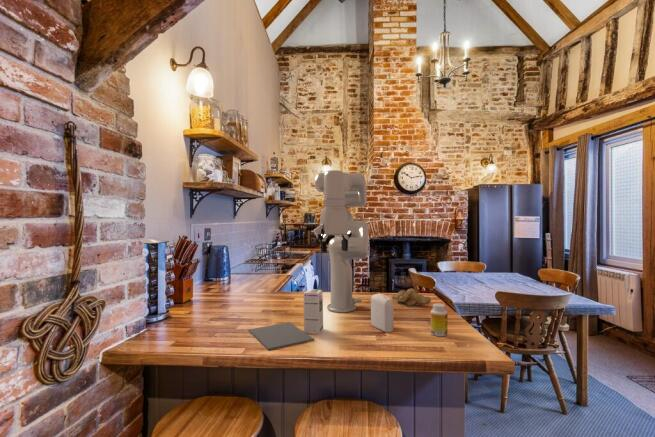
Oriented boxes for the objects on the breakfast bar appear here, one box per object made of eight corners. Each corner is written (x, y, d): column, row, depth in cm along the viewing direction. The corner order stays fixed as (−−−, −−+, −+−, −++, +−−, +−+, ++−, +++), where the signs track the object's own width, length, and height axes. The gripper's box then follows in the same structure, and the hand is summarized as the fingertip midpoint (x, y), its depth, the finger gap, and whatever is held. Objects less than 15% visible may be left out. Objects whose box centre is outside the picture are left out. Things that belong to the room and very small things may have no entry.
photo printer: (369, 325, 128) (369, 292, 128) (378, 323, 130) (378, 291, 130) (385, 333, 119) (385, 298, 119) (395, 331, 121) (395, 297, 121)
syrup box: (319, 334, 118) (319, 293, 118) (303, 333, 120) (303, 292, 119) (323, 329, 124) (323, 289, 124) (307, 328, 125) (307, 288, 125)
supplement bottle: (448, 337, 115) (448, 307, 115) (430, 336, 116) (430, 306, 116) (446, 332, 120) (446, 303, 120) (430, 330, 122) (430, 302, 122)
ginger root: (389, 296, 167) (393, 280, 167) (420, 304, 166) (424, 288, 166) (393, 306, 151) (398, 289, 151) (428, 315, 151) (433, 297, 150)
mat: (289, 323, 130) (289, 322, 130) (314, 340, 113) (314, 338, 113) (248, 331, 122) (248, 329, 122) (268, 350, 105) (268, 348, 105)
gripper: (348, 204, 133) (348, 249, 134) (308, 204, 125) (308, 252, 125) (359, 204, 127) (359, 251, 127) (318, 203, 118) (318, 254, 118)
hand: (334, 251), depth 126 cm, fingers open, 8 cm apart
